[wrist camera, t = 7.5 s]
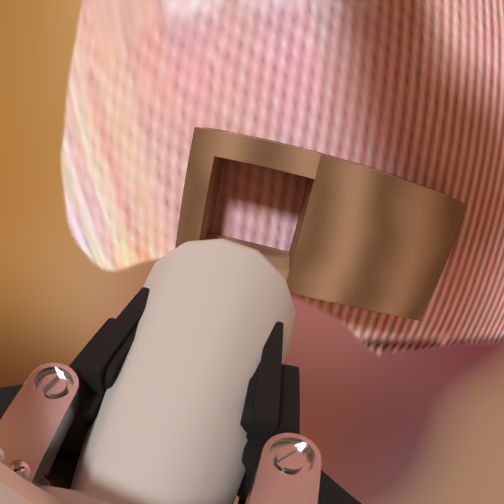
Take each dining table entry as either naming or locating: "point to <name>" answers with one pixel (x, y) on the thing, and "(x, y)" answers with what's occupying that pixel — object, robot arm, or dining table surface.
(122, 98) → the dining table surface
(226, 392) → the salt shaker
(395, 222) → the caddy
